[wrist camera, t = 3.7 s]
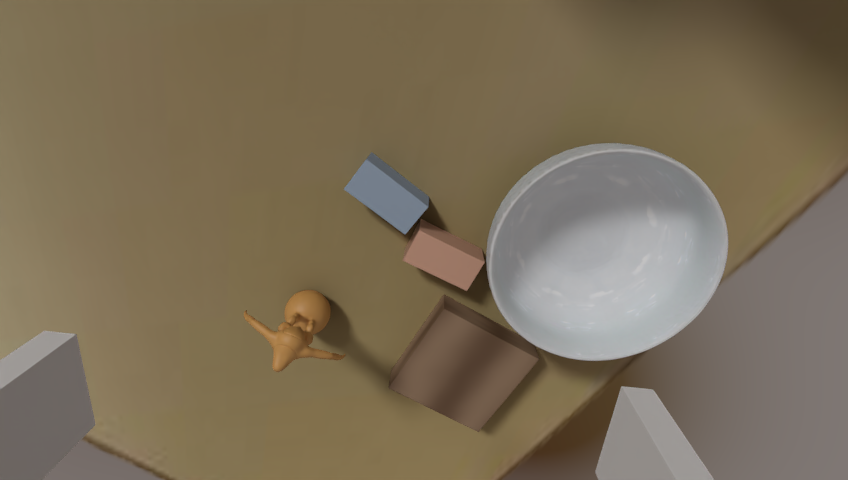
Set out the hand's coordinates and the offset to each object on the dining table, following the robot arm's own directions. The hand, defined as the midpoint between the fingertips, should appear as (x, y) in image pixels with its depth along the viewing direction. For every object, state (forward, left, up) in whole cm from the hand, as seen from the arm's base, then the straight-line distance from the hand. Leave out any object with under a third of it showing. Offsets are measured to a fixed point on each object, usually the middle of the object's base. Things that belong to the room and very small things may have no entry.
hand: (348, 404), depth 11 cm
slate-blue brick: (-1, -3, -28) cm, 28 cm away
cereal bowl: (+15, +2, -28) cm, 32 cm away
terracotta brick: (+6, -5, -28) cm, 29 cm away
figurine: (-2, -15, -28) cm, 32 cm away
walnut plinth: (+13, -14, -28) cm, 34 cm away
